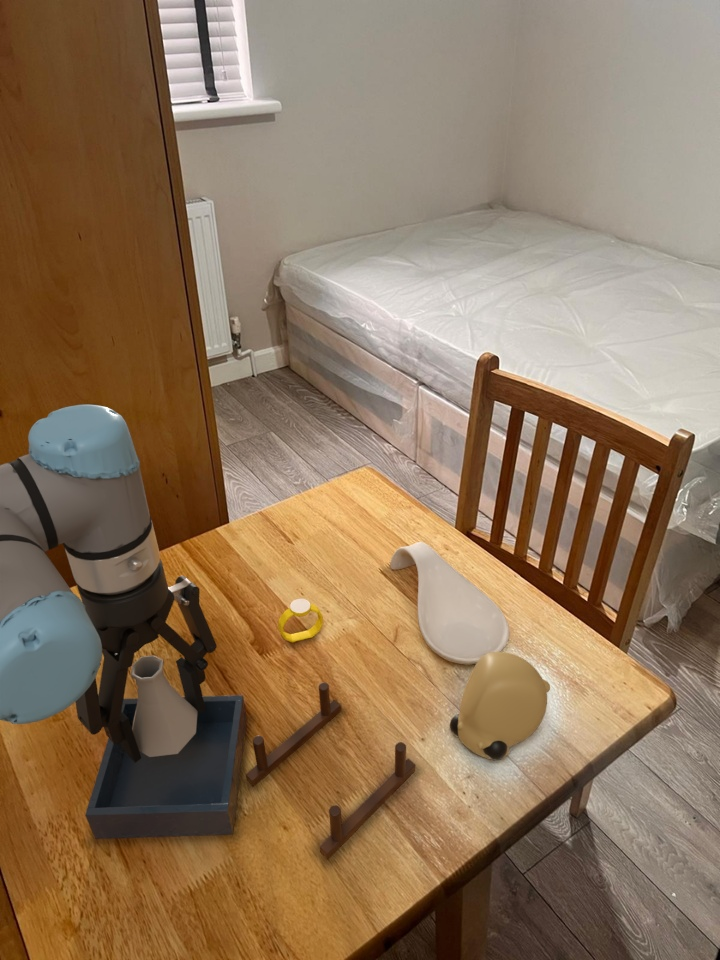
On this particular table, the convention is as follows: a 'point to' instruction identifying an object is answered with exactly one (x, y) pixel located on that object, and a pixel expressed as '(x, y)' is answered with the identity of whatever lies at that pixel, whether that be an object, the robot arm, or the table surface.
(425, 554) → the spoon rest
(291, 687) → the table surface
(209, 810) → the basin
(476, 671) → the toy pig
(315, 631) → the watch
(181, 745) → the flask
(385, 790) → the drying rack
